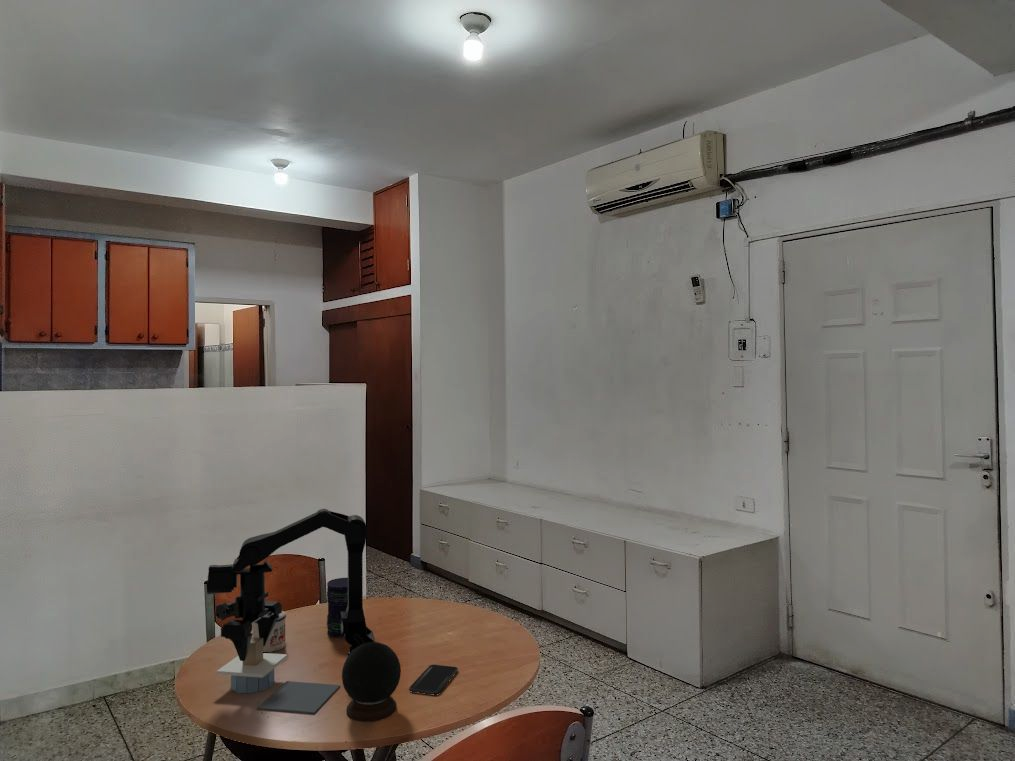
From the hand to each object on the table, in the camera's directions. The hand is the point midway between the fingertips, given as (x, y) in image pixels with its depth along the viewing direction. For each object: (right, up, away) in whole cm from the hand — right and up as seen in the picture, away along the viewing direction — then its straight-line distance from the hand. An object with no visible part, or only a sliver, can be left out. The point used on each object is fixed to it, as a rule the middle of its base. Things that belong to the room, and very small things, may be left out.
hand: (252, 653), depth 169 cm
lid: (0, -3, 0) cm, 3 cm away
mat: (+14, -8, -7) cm, 18 cm away
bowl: (0, -8, 0) cm, 8 cm away
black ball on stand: (+32, -8, -14) cm, 36 cm away
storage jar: (+14, -8, +35) cm, 39 cm away
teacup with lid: (-4, -8, +25) cm, 27 cm away
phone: (+45, -8, +1) cm, 46 cm away
